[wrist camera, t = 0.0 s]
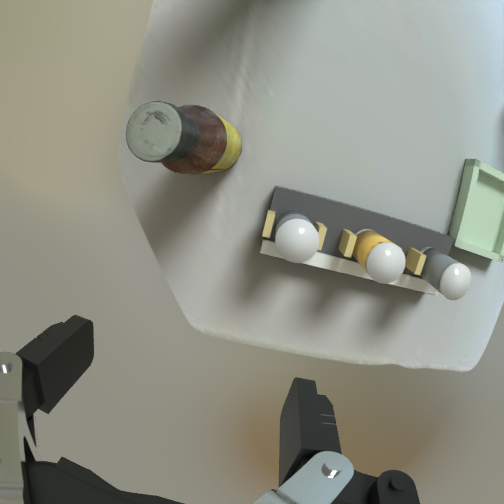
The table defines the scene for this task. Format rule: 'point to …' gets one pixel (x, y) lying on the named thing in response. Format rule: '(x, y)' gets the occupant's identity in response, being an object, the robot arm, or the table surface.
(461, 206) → the tray
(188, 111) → the sauce bottle
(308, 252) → the dome-capped grey cylinder
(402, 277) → the fuse block
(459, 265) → the cylinder
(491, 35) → the table surface
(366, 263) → the cylinder
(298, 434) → the robot arm
